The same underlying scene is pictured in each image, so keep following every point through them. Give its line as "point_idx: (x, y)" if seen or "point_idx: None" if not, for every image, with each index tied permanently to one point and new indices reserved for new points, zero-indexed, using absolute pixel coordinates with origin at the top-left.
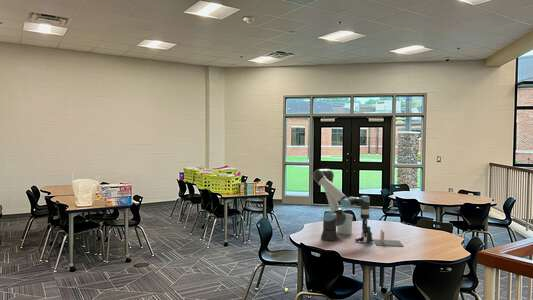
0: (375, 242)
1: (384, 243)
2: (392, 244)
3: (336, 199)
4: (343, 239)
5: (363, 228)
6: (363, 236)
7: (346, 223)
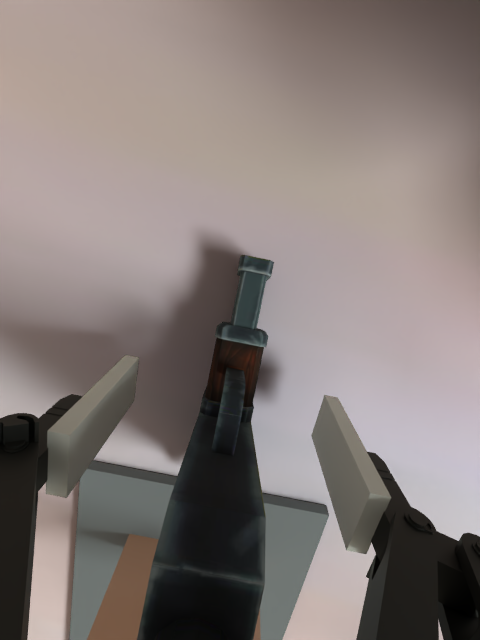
0: None
1: None
2: None
3: None
4: (432, 86)
5: (157, 551)
6: (322, 421)
7: None
